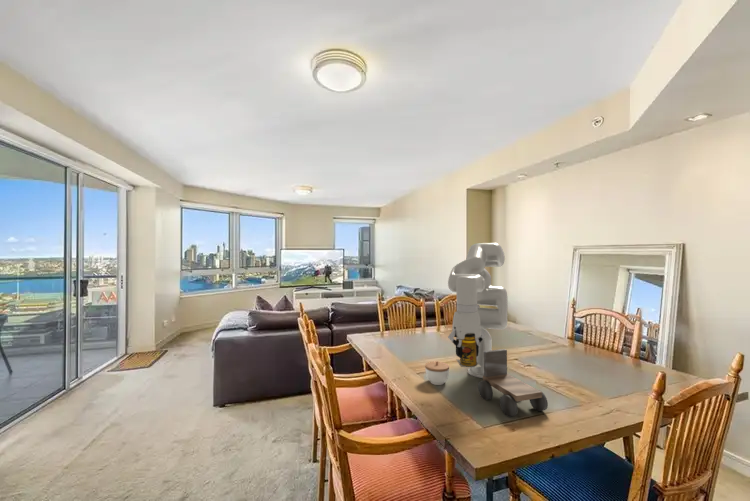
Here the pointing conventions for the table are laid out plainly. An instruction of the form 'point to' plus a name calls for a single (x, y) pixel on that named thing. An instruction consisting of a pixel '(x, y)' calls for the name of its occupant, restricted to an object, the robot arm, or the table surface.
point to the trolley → (507, 385)
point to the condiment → (468, 352)
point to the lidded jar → (437, 372)
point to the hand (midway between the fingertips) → (467, 355)
